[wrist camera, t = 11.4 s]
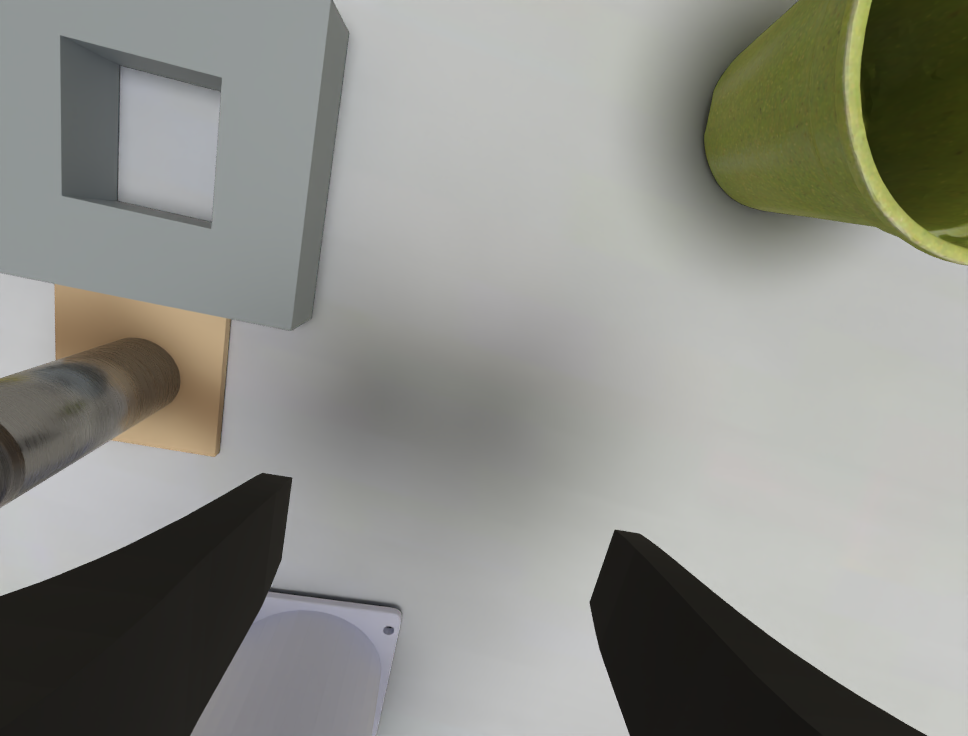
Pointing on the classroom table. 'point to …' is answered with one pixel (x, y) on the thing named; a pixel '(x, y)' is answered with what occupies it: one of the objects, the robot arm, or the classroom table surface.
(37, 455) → the shiny metal cylinder
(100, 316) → the pad
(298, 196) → the block
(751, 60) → the plant pot
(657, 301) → the classroom table surface
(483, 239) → the classroom table surface
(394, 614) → the robot arm
